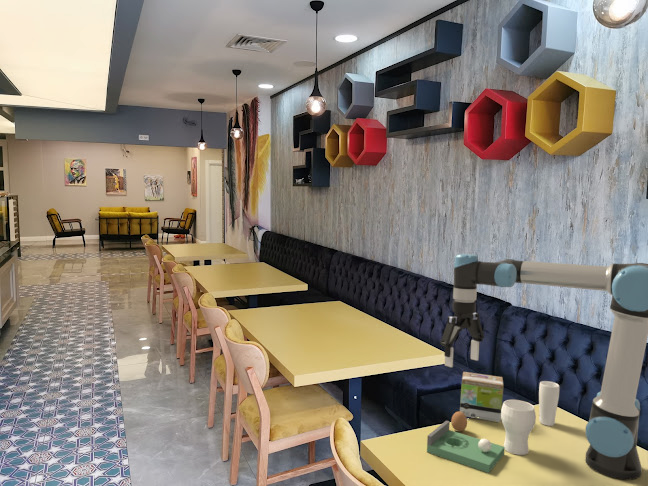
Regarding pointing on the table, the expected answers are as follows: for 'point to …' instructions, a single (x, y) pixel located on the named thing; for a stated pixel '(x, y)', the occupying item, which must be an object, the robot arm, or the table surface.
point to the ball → (484, 445)
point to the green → (462, 448)
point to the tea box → (481, 396)
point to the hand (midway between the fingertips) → (461, 362)
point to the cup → (517, 425)
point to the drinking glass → (548, 402)
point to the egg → (459, 421)
